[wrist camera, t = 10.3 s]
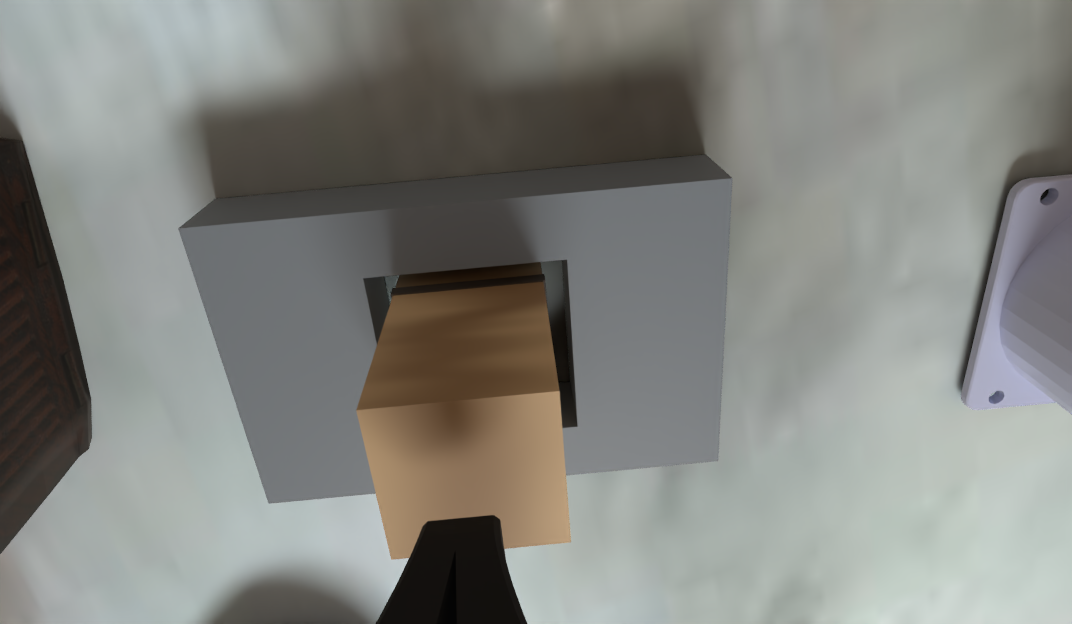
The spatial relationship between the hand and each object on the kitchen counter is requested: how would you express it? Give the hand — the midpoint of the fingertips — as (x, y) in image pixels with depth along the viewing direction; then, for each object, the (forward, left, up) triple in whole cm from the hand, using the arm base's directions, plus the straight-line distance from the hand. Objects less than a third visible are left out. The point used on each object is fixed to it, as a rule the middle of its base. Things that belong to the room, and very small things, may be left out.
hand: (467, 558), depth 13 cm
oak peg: (0, 0, -10) cm, 10 cm away
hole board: (0, 0, -10) cm, 10 cm away
